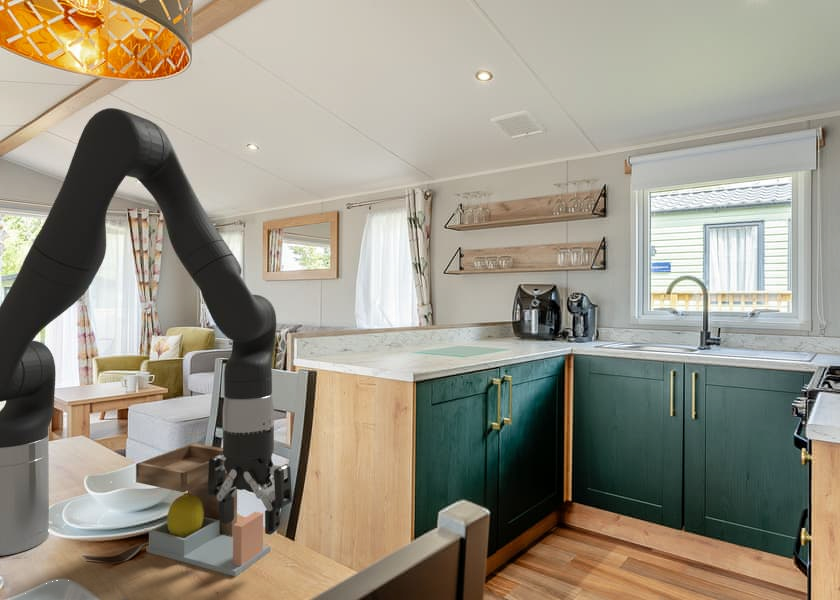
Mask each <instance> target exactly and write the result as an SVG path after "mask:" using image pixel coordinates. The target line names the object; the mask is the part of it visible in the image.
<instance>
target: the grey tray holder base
mask: <svg viewBox="0 0 840 600" xmlns="http://www.w3.org/2000/svg"><path fill="white" fill-rule="evenodd" d="M146 552H147V553H149V554H152V555H153V554H154V555H156V556H161V557H164V558H167V559H171V560H175V561H178V562H182V563H186V564H189V565H193V566H196V567H200V568H203V569H207V570H210V571H215V572H217V573H221V574H225V575H229V576H232V577H235V578H236V577H238V576H239V575H240V574H241V573H243V572H244V571H245V570H246V569H248V568H249V567H251V566H252V565H253V564H255V563H256V562H257V561H259V560H260V559H261V558H264V557H265V555H267V554H268V553H270V552H271V546H270V545H266V544H264V513H262V512H260V511H259V512H257V511H254V512H252V513H251V514H249V515H247V516H245V517H244V518H242V519H240V520H239V521H237V523H235V524H234V525H233V536H229V535H225V534H221V533H219V520H216V519H211V518H207V517H204V520H203V524H202V527H201V529H200V530H198V531H196V532H195V533H193V534H191V535H189V536H188V537H186V538H181V537H178V536H174V535H171V533H170V532H169V530H168V525H167V521H166V522H164V523H162V524H161V525H159V526H156V527H155V528H152V529H150V530H149V531H148V545H147V546H146Z"/></svg>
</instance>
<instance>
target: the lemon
mask: <svg viewBox="0 0 840 600" xmlns="http://www.w3.org/2000/svg"><path fill="white" fill-rule="evenodd" d="M167 511H168V513H167V518H166V522H167V525H168V530H169V532H170V533H171V535H174V536H178V537H181V538H186V537H188V536H189V535H191V534H193V533H195V532H196V531H198V530H200V529H201V527H202V524H203V520H204V509H203V505H202V503H201V501H200V499H199V498H197V497H196V496H194V495H191V494H189V493H188V492H183V495H180V496H178V497H177V498H175V500H173V501H172V503H171V505H170V506H169V508H168V510H167Z"/></svg>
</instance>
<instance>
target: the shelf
mask: <svg viewBox="0 0 840 600" xmlns="http://www.w3.org/2000/svg"><path fill="white" fill-rule="evenodd" d="M220 454H223V447H218V446H211V445H204V444H200V443H190V444H188V445H185V446H182V447H179V448H176V449H173V450H170V451H168V452H165V453H163V454H162V453H161V454H159V455H156V456H154V457H151V458H148V459H145V460H142V461H140V462H136V464H135V483H138V484H142V485H148V486H153V487H157V488H160V489H167V490H170V491H176V492H179V493H189V494H191V495H194V496H196V497H197V498H199V499H200V501H201V503H202V505H203V509H204V517H207V518H211V519H216V520H219V534H221V535H225V536H230V537H233V525H234V524H235V523H237V522H238V489H236V491H235V492H234V494H233V495H232V496H231V497H234V519H233V521H231V522H230V523H228V524H226V525H224V524H221V520H220V518H219V501H218V500H217V497H216V496H215V495H209V494H208V473H209V459H210V458H213V457H215V456H218V455H220ZM227 477H228V473H227V471H226V469H225V480H226V478H227ZM216 485H217V480H216Z"/></svg>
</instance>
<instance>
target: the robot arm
mask: <svg viewBox="0 0 840 600" xmlns="http://www.w3.org/2000/svg"><path fill="white" fill-rule="evenodd" d="M126 177H129V178H133V179H134V178H135V179H137V180H138V182H140V183H141V185H142V186H143V187H144V188H145V189H146V191H148V192H149V193H150V195H151V197H153V199H154V200H155V201H156V203H157V205H158V207H159V209H160V211H161V213H162V215H163V219H164V222H165V226H166V230H167V235H168V238H169V241H170V244H171V246H172V249H173V250H174V253H175V255H176V257H178V259H179V261H180V263H181V265H182V266H183V267H184V269H185V270H186V271H187V273H188V274H189V276H190V278H191V279H192V280H193V282H194V283H195V284H196V285H197V287H198V288H199V290H200V291H199V292H200V294H201V296H202V299H203V301H204V304H205V306H206V308H207V310H208V313H209V314H210V317H211V318H212V321H213V322H214V324H215V326H216V327H217V328H218V330H219V331H220V332H221V333H222V335H224V336H225V337H226V338H228V339H229V340H230V341H232V344H231V345H232V346H231V347H232V348H231V354H230V357H229V358H228V359H227V361H226V362H225V366H224V373H223V381H224V383H223V384H224V385H223V386H224V387H223V389H224V391H223V393H224V395H223V396H224V398H223V405H222V448H223V454H220V455H218V456H215V457H213V458H210V459H209V473H208V494H209V495H215V496H216V497H217V500H218V501H219V518H220V520H221V524H224V525H226V524H228V523H230V522H231V521H233V519H234V497H231V496H232V495H233V494H234V492H235V491H236V489H237V491H238V490H240V491H242V490H244V491H247V492H249V493H254V495H255V497H256V498H257V499H258V500H261V502H262V504H263V506H264V507H265V509H266V510H264V533H265V534H266V535H270V536H271V535H272V534H274V533H275V532H277V531H278V529H279V528H280V526H281V509H283V508H284V507H285V506H287V505H289V504H291V503H292V501H293V494H292V476H291V466H290V465H289V464H288V463H285V464H283V465H275V464H274V463H273V460H272V456H273V454H274V453H273V452H274V451H275V434H274V433H275V427H274V426H275V420H274V419H275V417H274V416H275V415H274V414H275V413H274V411H275V409H274V401H273V373H272V360H273V355H274V350H275V349H274V348H275V343H276V334H277V314H276V311H275V308H274V305H273V304H272V302H271V301H270V300H269V299H267V298H266V297H265V296H262V295H260V294H252V292H251V290H250V289H249V288H248V286H247V284H246V283H245V281H244V279H243V278H242V267H241V264H240V263H239V261H238V259H237V258H236V256H235V255H234V252H233V251H232V250H231V249H230V247H229V246H228V244H227V243H226V241H225V240H224V238H223V236H222V235H221V234H220V233H219V231H218V230H217V228H216V226H215V224H213V221H211V218H210V217H209V216H208V214H207V213H206V211H205V209H204V208H203V205H202V204H201V201H199V198H198V197H197V195H196V192H195V191H194V189H193V186H192V184H191V183H190V181H189V179H188V177H187V174H186V173H185V170H184V169H183V167H182V164H181V162H180V159H179V157H178V155H177V153H176V151H175V149H174V147H173V144H172V142H171V140H170V138H169V137H168V134H166V132H165V131H164V129H163V128H161V127H160V125H158V124H156V123H155V122H153V121H152V120H149V119H147V118H144V117H142V116H139V115H137V114H134V113H132V112H129V111H126V110H123V109H120V108H115V107H113V108H112V107H109V108H105V109H102V110H99V111H97V112H96V113H95V114H93V116H92V117H90V119H89V120H88V121H87V123H86V124H85V126H84V128H83V130H82V132H81V134H80V138H79V139H78V142H77V145H76V148H75V151H74V153H73V156H72V158H71V162H70V164H69V167H68V169H67V172H66V175H65V177H64V181H63V183H62V184H61V185H62V186H61V187H60V189H59V192H58V194H57V196H56V197H55V200H54V202H53V203H52V207H51V208H50V210H49V212H48V215H47V217H46V218H45V221H44V223H43V225H42V226H41V228H40V230H39V232H38V234H37V235H36V237H35V239H34V240H33V243H32V244H31V247H30V248H29V250H28V252H27V255H25V257H24V260H23V262H22V265H21V266H20V269H19V271H18V273H17V275H16V277H15V279H14V281H13V283H12V284H11V286H10V288H9V290H8V292H7V294H6V295H5V297H4V299H3V301H2V302H1V304H0V403H1V402H5V404H4V405H3V407H2V408H1V409H0V557H1V556H7V555H8V556H9V555H12V554H17V553H21V552H24V551H26V550H29V549H33V548H35V547H37V546H38V545H41V544H42V543H44V542H45V541H46V540H48V538H49V535H50V531H49V532H48V529H49V530H50V507H49V506H50V485H49V484H50V483H49V480H50V479H49V477H50V474H49V471H50V470H49V468H50V467H49V465H50V464H49V463H50V461H49V460H50V459H49V455H50V454H49V427H50V424H51V422H52V419H53V417H54V412H55V411H54V410H55V392H56V390H55V389H56V376H57V375H56V373H57V372H56V365H55V364H56V363H55V359H54V356H53V354H52V352H51V350H50V349H49V347H48V346H47V345H46V344H44V343H43V342H41V341H38V340H34V339H35V338H36V336H38V335H39V334H40V332H41V331H42V330H43V329H44V328H46V327H47V326H48V325H49V324H50V323H51V322H53V321H54V320H56V319H57V318H58V317H60V316H61V315H62V314H63V313H65V312H66V311H67V310H69V308H71V307H72V306H73V305H75V303H76V302H78V301H79V300H80V299H81V298H82V296H84V294H85V293H86V292H87V291H88V289H89V288H90V286H91V284H92V283H93V280H94V279H95V278H96V275H97V274H98V271H99V269H101V266H102V264H103V261H104V260H105V257H106V253H107V228H106V227H107V223H106V221H107V220H106V219H107V212H108V208H109V206H110V204H111V202H112V200H113V198H114V196H115V194H116V193H117V190H118V189H119V187H120V185H121V183H122V182H123V181H124V179H125V178H126ZM225 469H226V471H227V473H228V477H227V478H226V480H225ZM216 480H217V485H216ZM265 485H266V488H265V489H264V488H263V487H265Z"/></svg>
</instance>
